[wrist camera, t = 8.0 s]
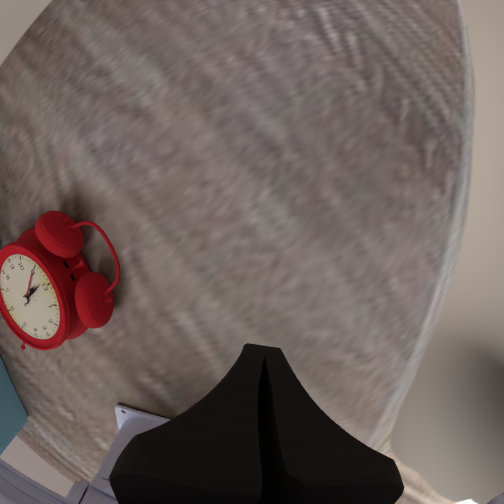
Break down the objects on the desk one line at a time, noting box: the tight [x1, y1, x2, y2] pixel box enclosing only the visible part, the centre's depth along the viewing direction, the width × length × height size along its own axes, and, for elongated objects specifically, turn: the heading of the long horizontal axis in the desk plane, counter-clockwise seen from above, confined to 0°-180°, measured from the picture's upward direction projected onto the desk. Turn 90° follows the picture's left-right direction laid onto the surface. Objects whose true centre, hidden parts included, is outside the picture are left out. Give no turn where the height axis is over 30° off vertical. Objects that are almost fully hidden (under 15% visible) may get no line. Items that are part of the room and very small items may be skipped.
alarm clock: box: [0, 211, 120, 350], centre depth 20 cm, size 10×6×15 cm
